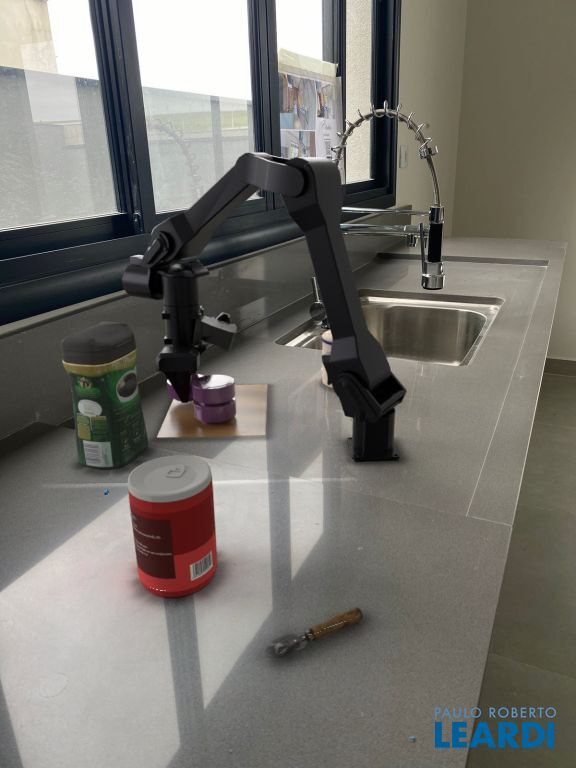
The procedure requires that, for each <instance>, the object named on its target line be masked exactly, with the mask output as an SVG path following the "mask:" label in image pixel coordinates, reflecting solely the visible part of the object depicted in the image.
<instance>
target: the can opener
mask: <svg viewBox="0 0 576 768" xmlns="http://www.w3.org/2000/svg"><path fill="white" fill-rule="evenodd" d="M356 616H357V617H356ZM363 616H364V615H363V612H362V610H361V609H360V608H359V607H354V608H351V609H348V610H346V611H343V612H341V613H339V614H337V615H334V616H333V617H331V618H330V619H328V620H326V621H324V622H322V623H319V624H317V625H314V626H312V627H310V628H308V630H306V631H304V634H295V633H288V634H284V635H282V636H280V637H277V638H275V639H274V640H272V641H271V642H270V643H269V644H268V646H267V647H266V649H265V651H267V650H270V649H272V648H273V649H274V652H275V654H276V655H277V656H278V657H282V656H283V655H285V654H286V653H287V652H288V651H289V650H290V649H291V648H293V647H295V646H297V645H299V647H297V648H294V651H301V650H304V649H305V648H307V645H308V642H309V643H311V642H315V641H317V640H319V639H321V638H323V637H325V636H327V635H329V634H332V633H334V632H337V631H340V630H343V629H345V628H347V627H350V626H352V625H353V624H355V623H357V622H358V621H360V620H362V619H363ZM350 619H351V620H350ZM344 621H346V622H344ZM341 622H343V623H341ZM338 623H341V624H338ZM335 624H338V625H335ZM332 625H335V626H332ZM329 626H332V627H329ZM327 627H329V628H327ZM324 628H326V629H324ZM320 631H321V632H320ZM317 632H319V633H317ZM315 633H316V634H315ZM308 634H312V635H308ZM282 647H283V648H282ZM280 648H282V649H280ZM279 649H280V650H279Z"/></svg>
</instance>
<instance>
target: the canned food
mask: <svg viewBox="0 0 576 768" xmlns="http://www.w3.org/2000/svg"><path fill="white" fill-rule="evenodd" d="M127 491H128V503H129V511H130V518H131V526H132V535H133V536H132V537H133V544H134V551H135V558H136V567H137V575H138V578H139V580H140V583H141V585H142V586H143V587H144V588H145V590H146V591H148V592H149V593H151V594H152V595H154V596H157V597H161V598H162V597H163V598H179V597H185V596H188V595H192V594H194V593H197V591H200V590H202V589H203V588H204V587H206V586H207V585H208V584H209V583H210V582H211V580H212V579H213V578H214V576H215V573H216V571H217V566H218V549H217V533H216V532H217V531H216V517H215V516H216V515H215V499H214V483H213V475H212V468H211V466H210V465H209V463H208V462H206V461H205V460H204V459H201V458H199V457H195V456H191V455H182V454H180V455H179V454H177V455H166V456H161V457H156V458H153V459H150V460H148V461H145V462H143V463H141V464H140V465H138V466H136V467H135V468H134V469H133V470H132V471H131V472H130V473H129V475H128V478H127ZM150 587H151V588H150ZM153 588H154V589H153ZM156 589H158V590H156ZM160 590H163V591H160ZM164 590H166V591H164Z"/></svg>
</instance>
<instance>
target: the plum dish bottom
mask: <svg viewBox="0 0 576 768" xmlns="http://www.w3.org/2000/svg"><path fill="white" fill-rule="evenodd" d="M193 406H194V416H195V418H196V419H198V420H200V421H203V422H205V423H211V424H216V423H222V422H225V421H228V420H229V419H231V418H233V417H234V416H235V415H236V398H235V397H234V398H233V399H231V400H229V401H228V402H226V403H223V404H219V405H205V404H202V403H200V402H197V401H195V400H193Z"/></svg>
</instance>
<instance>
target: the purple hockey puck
mask: <svg viewBox="0 0 576 768" xmlns="http://www.w3.org/2000/svg"><path fill="white" fill-rule="evenodd" d="M202 376H204V374H199V373H196V374H192V379H191V387H190V396H189V402H190V401H193V400H194V399H193V393H192V381H193V380H195V379H196V378H199V377H202ZM166 387H167V389H166V390H167V396H168V397H169V398H170V399H172V400H173V399H175V400H177V401H181V400H180V399H179V397H178V395H177V394H176V392H175V390H174V388H173V387H172V385H171V383H170V382H169V380H168V379H167V380H166Z"/></svg>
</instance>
